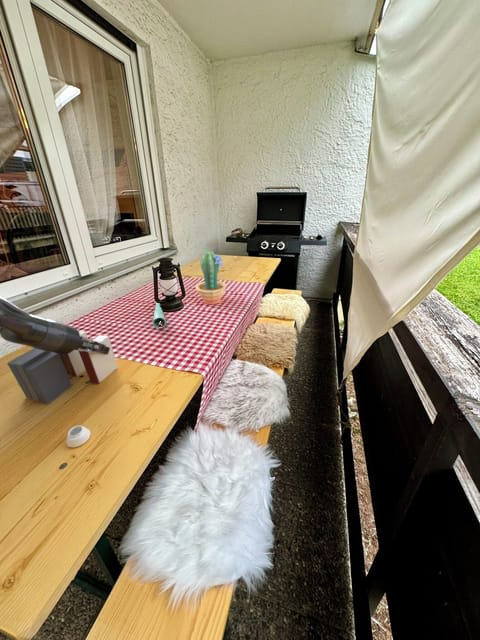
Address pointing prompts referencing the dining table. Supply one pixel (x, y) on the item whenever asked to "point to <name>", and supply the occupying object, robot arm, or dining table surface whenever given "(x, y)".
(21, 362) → the grey books
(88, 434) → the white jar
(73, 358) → the ivory books
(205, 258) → the potted cactus
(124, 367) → the dining table surface
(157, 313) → the long green cone
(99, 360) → the ivory book
